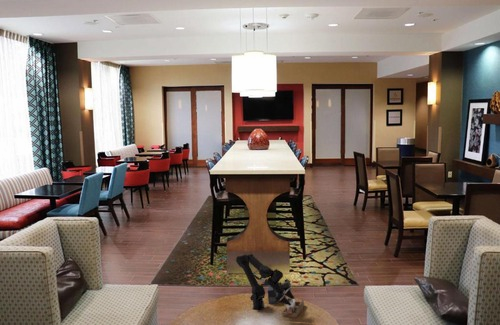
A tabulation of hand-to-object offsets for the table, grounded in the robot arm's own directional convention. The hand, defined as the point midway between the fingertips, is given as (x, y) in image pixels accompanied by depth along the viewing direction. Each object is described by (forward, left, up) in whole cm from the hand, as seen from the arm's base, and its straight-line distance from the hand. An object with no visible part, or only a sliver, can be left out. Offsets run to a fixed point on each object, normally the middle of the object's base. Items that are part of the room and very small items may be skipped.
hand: (292, 302), depth 289 cm
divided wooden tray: (-1, +5, -9) cm, 10 cm away
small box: (-20, +20, -9) cm, 30 cm away
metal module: (-1, 0, -8) cm, 8 cm away
